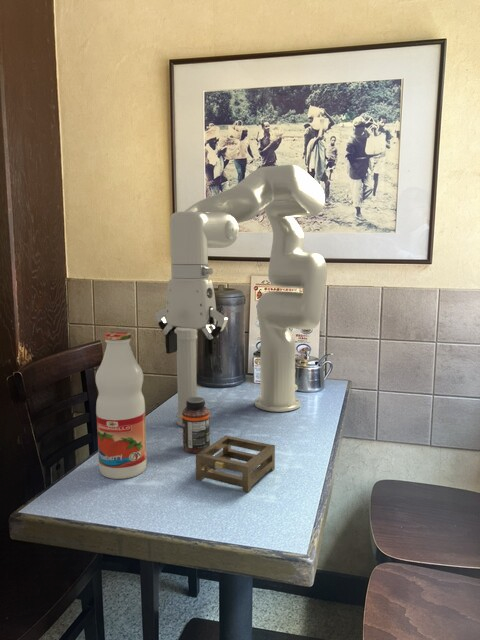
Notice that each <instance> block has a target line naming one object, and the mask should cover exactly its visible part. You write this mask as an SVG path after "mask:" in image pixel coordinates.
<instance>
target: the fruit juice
mask: <svg viewBox="0 0 480 640" xmlns="http://www.w3.org/2000/svg"><path fill="white" fill-rule="evenodd" d="M131 340H132V334H131V332H130V331H127V330H114V331H113V330H112V331H108V332H106V333H105V334H104V341H105V343H106V347H105V350H104V353H103V354H104V355H103V358H102V360H101V363H100V365H99V367H98V369H97V370H96V372H95V373H96V374H95V384H96V387H97V391H98V396H97V399H96V402H95V403H96V405H95V414H96V429H97V432H96V433H97V452H98V453H97V454H98V468H99V473H100V474H101V475H102V476H104V477H105V478H108V479H113V480H122V479H123V480H125V479H129V478H134V477H136V476H139V475H140V474H142V473H143V472H144V471H145V470H146V469H147V463H148V458H147V456H148V455H147V429H146V427H147V426H146V423H147V422H146V403H145V402H146V401H145V397H144V394H143V392H142V386H143V383H144V373H143V370H142V367H141V366H140V365H139V364H138V362H137V360H136V358H135V355H134V353H133V350H132V347H131V345H130V343H131Z"/></svg>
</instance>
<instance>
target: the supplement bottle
mask: <svg viewBox="0 0 480 640" xmlns="http://www.w3.org/2000/svg"><path fill="white" fill-rule="evenodd" d="M186 405H187V406H186V408H185V409H184V410H183V412H182V417H183V418H182V425H183V426H182V447H183V449H184V451H186V452H188V453H191V454H192V453H193V454H198V453H199V452H201V451H202V450H204V449H205V448H207V447H208V446H210V445H211V434H210V433H211V431H210V429H211V425H210V424H211V423H210V421H211V420H210V418H211V417H210V410H209V408H208V407H207V406H206V400H205V398H204V397H200V396H197V397H191V398H188V399H187V400H186Z"/></svg>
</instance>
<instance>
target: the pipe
mask: <svg viewBox="0 0 480 640" xmlns="http://www.w3.org/2000/svg"><path fill="white" fill-rule="evenodd" d="M197 331H198V329H190V328H180V327H178V328H177V329H176V330H175V332H174V333H177V351H176V370H177V371H176V376H177V377H176V379H177V381H176V382H177V412H176V419H177V420H176V421H177V422H176V423H177V424H178V426H180V427H183V425H182V418H183V417H182V412H183V410H184V409H185V408H186V406H187V405H186V400H187V399H188V398H191V397H198V393H197V392H198V390H197V389H198V388H197V387H198V386H197V345H196V344H197V343H196V342H197V339H198V335H197V333H198V332H197Z"/></svg>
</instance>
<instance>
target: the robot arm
mask: <svg viewBox="0 0 480 640" xmlns="http://www.w3.org/2000/svg"><path fill="white" fill-rule="evenodd" d="M325 201H326V198H325V193H324V189H323V188H322V186H321V185H320V183H319V182H318V181H317V180H315V178H313V177H312V176H311V174H309V173H308V172H307V171H306V170H304V169H302V168H301V167H299V166H297V165H294V164H284V165H283V164H281V165H271V166H270V165H269V166H261V167H259V168H256V169H255V170H253V171H252V172H251V173H249V174H248V175H247V176H245V177H244V178H243V179H242V180H241V181H239V182H238V183H236V184H235V185H234V186H233V187H230V188H228V189H226V190H223V191H220V192H218V193H216V194H213V195H212V196H208V197H206V198H203V199H201V200H199V201H197V202H196V203H193V204H192V205H190V206H189V207H188V208H187V209H185V210H184V211H176V212H174V213H172V214H171V216H170V220H169V221H170V222H169V223H170V225H169V227H170V228H169V229H170V277H171V279H169V280H168V284H167V288H166V289H167V290H166V301H165V307H163V308H162V309H160V310H158V311H156V312H155V313H154V315H155V316H154V317H155V318H156V321H157V323H158V324H157V325H158V327H159V328H160V329H161V330H162V334H163V335H165V353H166V354H167V355H170V354H173V353H177V333H175V330H176V329H177V328H178V327H180V328H190V329H197V330H201V331H202V332H203V333H204V335H205V337H206V339H204V358H205V359H211V358H213V357H214V358H215V357H216V354H217V350H218V349H217V346H218V345H217V339H218V337H219V336H220V335H221V334H222V332H223V331H225V327H226V325H227V323H228V319H229V318H228V317H227V316H225V315H224V314H222V313H221V312H219V310H217V303H216V296H215V289H214V284H213V280H212V279H209V275H210V276H211V275H213V272H214V270H213V267H212V268H211V267H209V258H208V257H209V256H208V255H209V250H208V249H225V248H227V247H230V246H232V245H234V243H235V242H236V241H237V240H238V236H239V233H240V230H239V229H240V228H239V224H241V223H244V222H247V221H250V220H252V219H254V218H255V217H257V215H259V214H260V213H261V212H262V211H263V210H264V212H265V214H266V217H267V219H268V220H269V221H268V222H269V224H270V226H271V229H272V245H271V251H270V257H269V264H268V270H267V271H268V273H267V275H268V276H267V277H268V281H269V282H270V284H272V285H273V286H275V287H280V288H292V289H302V292H293V291H282V290H281V291H278V290H276V291H275V290H274V291H267V292H264V293H263V294H262V295H261V296H260V297H259V298H258V300H257V302H256V315H257V320H258V325H259V331H260V332H259V336H260V338H259V339H260V340H259V341H260V355H259V356H260V365H259V366H260V387H259V388H260V390H259V391H260V394H259V395H260V396H258V397H256V399H255V400H254V405H255V407H256V408H258V409H260V410H263V411H265V412H266V411H268V412H277V413H278V412H279V413H281V412H291V411H295V410H297V409H299V408H300V407H301V400H300V399H299V398H298V397H296V391H297V390H298V389H299V387H298V385H297V384H296V340H295V338H294V335H293V333H292V331H291V330H290V329H298V330H313V329H315V328H316V327H318V326H319V323H320V321H321V317H322V313H323V307H324V300H325V294H326V293H325V292H326V286H327V277H328V276H327V275H328V268H327V267H328V266H327V263H326V260H325V258H324V257H323V255H321V254H319V253H317V252H303V251H304V243H305V234H304V231H303V229H302V227H301V226H300V225H299V223H298V221H297V220H296V219H295V218H294V217H297V218H298V217H299V218H301V217H314V216H317V215H319V214H320V213H321V212H322V211H323V209H324V207H325V204H326V203H325Z"/></svg>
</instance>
